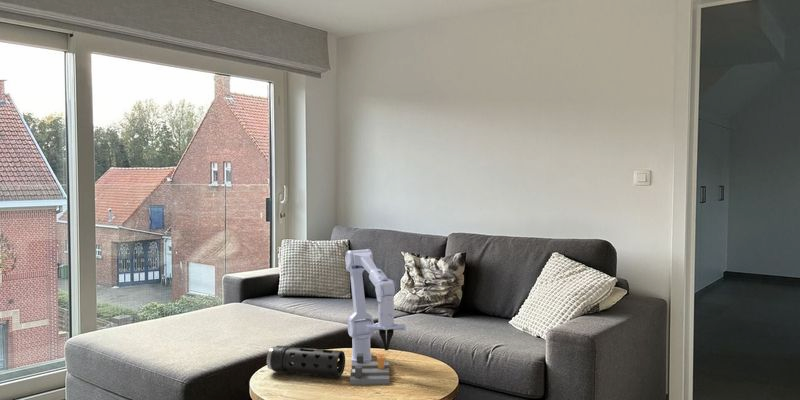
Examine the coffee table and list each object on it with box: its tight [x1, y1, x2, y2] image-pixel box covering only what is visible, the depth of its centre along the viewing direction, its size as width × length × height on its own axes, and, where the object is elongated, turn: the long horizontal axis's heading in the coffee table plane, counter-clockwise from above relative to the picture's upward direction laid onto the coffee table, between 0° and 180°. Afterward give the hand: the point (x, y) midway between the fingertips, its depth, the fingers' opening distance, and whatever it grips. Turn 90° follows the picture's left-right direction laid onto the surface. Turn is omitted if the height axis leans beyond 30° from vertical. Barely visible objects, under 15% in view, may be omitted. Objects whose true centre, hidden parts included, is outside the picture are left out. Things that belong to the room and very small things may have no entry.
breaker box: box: [349, 354, 390, 386], centre depth 225 cm, size 20×14×6 cm
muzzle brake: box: [266, 345, 346, 379], centre depth 226 cm, size 10×28×10 cm, turn 76°
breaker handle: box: [376, 353, 386, 369], centre depth 225 cm, size 4×3×5 cm
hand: (386, 349), depth 225 cm, fingers closed
